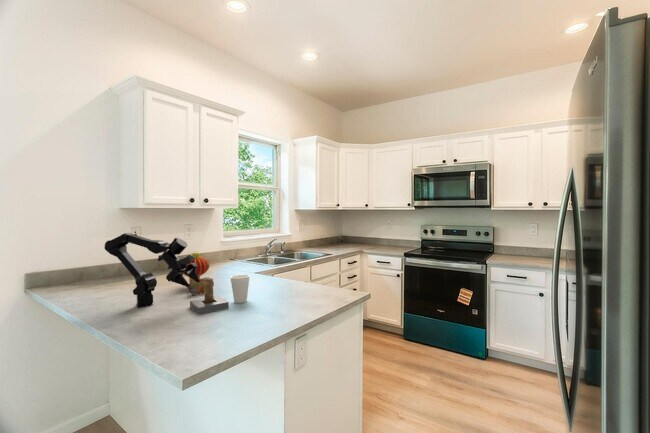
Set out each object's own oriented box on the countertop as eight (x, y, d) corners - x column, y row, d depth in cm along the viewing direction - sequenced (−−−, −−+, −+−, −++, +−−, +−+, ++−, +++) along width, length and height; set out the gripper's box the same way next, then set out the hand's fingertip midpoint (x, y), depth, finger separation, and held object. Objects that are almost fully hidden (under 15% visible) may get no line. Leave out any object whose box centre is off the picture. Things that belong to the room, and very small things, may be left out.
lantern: (215, 284, 198) (214, 237, 197) (191, 291, 184) (189, 239, 183) (198, 281, 207) (197, 236, 206) (173, 287, 193) (172, 238, 192)
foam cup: (244, 304, 157) (244, 278, 156) (227, 303, 159) (227, 278, 158) (252, 299, 166) (252, 274, 166) (236, 298, 168) (236, 274, 168)
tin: (189, 296, 172) (189, 281, 172) (186, 295, 174) (186, 280, 174) (214, 290, 184) (213, 276, 184) (211, 289, 186) (210, 275, 186)
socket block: (198, 314, 143) (198, 307, 143) (190, 306, 154) (189, 300, 154) (228, 308, 151) (228, 301, 151) (218, 301, 162) (218, 295, 162)
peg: (204, 309, 150) (203, 280, 150) (205, 306, 154) (204, 278, 153) (213, 308, 151) (212, 279, 151) (213, 305, 155) (213, 277, 155)
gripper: (171, 252, 144) (194, 277, 143) (194, 247, 163) (214, 269, 162) (156, 269, 146) (178, 293, 144) (180, 262, 164) (200, 283, 163)
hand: (194, 284), depth 153 cm, fingers open, 9 cm apart
